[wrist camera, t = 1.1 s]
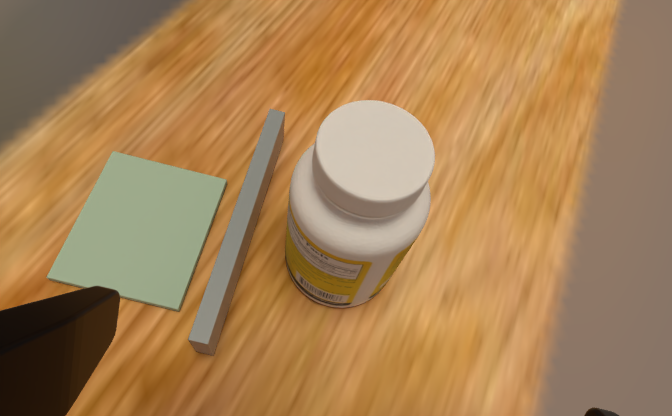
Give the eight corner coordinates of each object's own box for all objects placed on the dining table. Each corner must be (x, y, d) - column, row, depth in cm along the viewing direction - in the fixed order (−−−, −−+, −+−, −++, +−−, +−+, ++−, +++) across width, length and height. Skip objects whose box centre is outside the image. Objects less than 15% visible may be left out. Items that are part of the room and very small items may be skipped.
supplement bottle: (370, 200, 26) (424, 73, 17) (405, 294, 24) (485, 204, 15) (272, 220, 25) (276, 94, 16) (299, 322, 23) (321, 241, 14)
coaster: (179, 311, 22) (177, 309, 22) (50, 279, 22) (46, 277, 22) (227, 183, 25) (226, 179, 25) (115, 155, 25) (112, 151, 25)
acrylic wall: (213, 355, 21) (207, 344, 19) (195, 351, 21) (188, 339, 19) (283, 140, 27) (285, 112, 25) (269, 136, 27) (269, 108, 25)
